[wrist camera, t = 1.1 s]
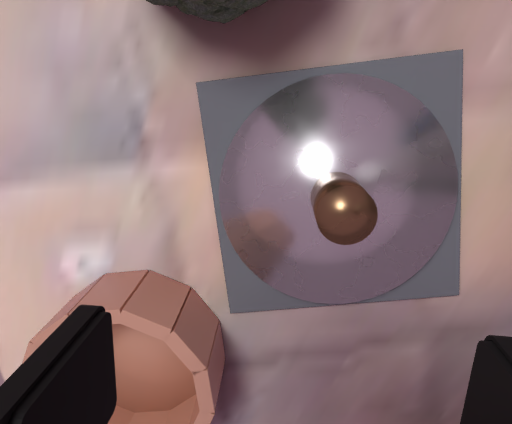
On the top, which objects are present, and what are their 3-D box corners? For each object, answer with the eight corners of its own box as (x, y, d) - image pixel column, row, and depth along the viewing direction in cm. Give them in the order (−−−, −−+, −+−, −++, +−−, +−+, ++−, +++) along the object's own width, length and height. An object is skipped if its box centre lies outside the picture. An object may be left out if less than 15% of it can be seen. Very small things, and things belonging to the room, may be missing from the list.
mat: (460, 49, 27) (463, 49, 26) (456, 292, 31) (459, 295, 31) (197, 82, 28) (196, 82, 28) (230, 310, 33) (230, 313, 32)
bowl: (210, 264, 32) (195, 303, 26) (233, 407, 35) (224, 470, 29) (45, 278, 33) (-4, 319, 27) (83, 417, 36) (47, 478, 30)
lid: (454, 58, 26) (496, 50, 21) (452, 289, 31) (486, 328, 26) (204, 89, 28) (188, 89, 23) (236, 306, 32) (228, 347, 27)
